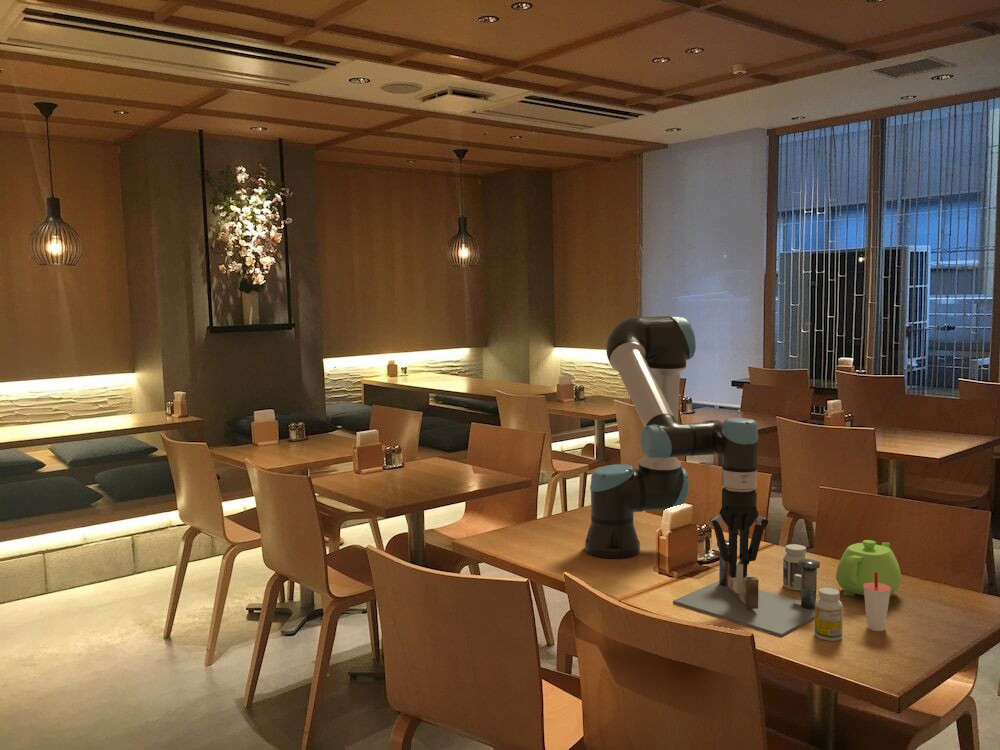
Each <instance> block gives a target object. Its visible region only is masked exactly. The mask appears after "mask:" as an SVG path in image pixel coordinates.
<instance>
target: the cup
mask: <svg viewBox="0 0 1000 750" xmlns="http://www.w3.org/2000/svg"><path fill="white" fill-rule="evenodd" d="M874 575H875V583H865V584H863V586H864V595H863V596H864V606H865V618H866V628H867V629H869V630H871V631H875V632H884V631H885V630H886V624H887V619H888V609H889V604H890V603H889V602H890V597H891V596H890V590H891V587H890V586H888V585H885V584H881V583H878V573H874Z"/></svg>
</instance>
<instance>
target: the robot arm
mask: <svg viewBox="0 0 1000 750" xmlns="http://www.w3.org/2000/svg"><path fill="white" fill-rule="evenodd" d="M696 344H697V342H696V336H695V332H694V329H693V326H692V325H691V323H690V322H689V321H688V319H687V318H685V317H682V316H672V315H666V316H665V315H664V316H663V315H662V316H661V315H660V316H659V315H658V316H646V317H645V316H643V317H640V316H639V317H638V316H636V317H635V316H634V317H628V318H626V319H624V320H621V321H620V322H619V323H617V324H616V326H614V327H613V329H612V330H611V332H610V333H609V335H608V337H607V342H606V349H605V350H606V356H607V360H608V362H609V364H610V367H611V368H612V369H613V370H615V371H616V372H618V374H619V376H620V378H621V381H622V383H623V385H624V387H625V389H626V391H627V393H628V395H629V398H630V399H631V403H632V404H633V406H634V408H635V410H636V412H637V414H638V417H639V418H640V421H641V423H642V426H643V428H642V430H641V432H640V444H641V450H642V452H643V454H644V455H643V457H642V458H640V459H639V460H638V469H637V468H636V469H634V468H633V466H632V465H631V464H627V463H621V464H618V463H617V464H609V465H608V464H607V465H605V466H601V467H598V468H596V469H595V470H594V471H593V472H592V473H591V475H590V476H591V477H590V486H589V489H590V525H589V527H588V528H589V529H588V531H587V535H586V539H585V541H584V551H585V553H586V554H587V553H588V555H591V556H594V557H597V558H603V559H624V558H630V557H634V556H636V555H638V554H640V552H641V543H640V540H639V537H638V534H637V530H636V527H635V524H634V513H639V512H640V513H642V512H652V511H653V512H655V511H665V509H667V508H670V507H673V506H677V505H681V504H683V505H684V504H685V503H686V500H687V498H688V495H689V489H690V481H689V480H688V479H689V476H688V471H686V469H685V468H684V467H682V462H681V461H680V460H679V459H678V457H692V456H693V457H694V456H710V455H711V456H712V455H717V456H720V457H722V459H721V460H722V462H721V463H722V465H721V468H722V471H721V472H722V473H721V486H722V487H723V488H722V489H721V508H720V510H719V514H718V515H716V516H715V517H711V518H709V523H710V525H711V526H712V527H713V529H714V535H715V538H716V539H715V540H716V544H717V543H718V546H717V548H718V551H719V557H720V556H721V558H722V559H723V560H724V561H725V562H729V575H730V576H731V577H732V578H733V590H734V591H735V592H736V593H743V577H746V576H747V574H748V565H750V562H755V561H756V560H757V557H758V552H759V550H760V545H761V542H762V538H763V534H764V530H765V529H766V527H767V526H768V524H769V520H768V519H767V518H766V517H764V516H761V515H759V510H758V508H757V506H758V505H757V503H758V502H757V500H758V491H757V489H756V488H757V487H758V460H759V459H758V458H759V457H758V455H759V432H758V429H759V428H758V423H757V421H756V420H755V419H752V418H745V417H731V418H726V419H724V420H723V421H721V420H719V419H706V420H704V421H702V422H694V423H693V422H692V423H690V422H688V423H679V405H680V404H679V403H680V402H679V401H680V400H679V399H680V384H681V383H680V382H681V381H680V378H681V372H683V371H684V370H685V369H686V368H687V360H688V361H689V360H691V359H692V358H693V357H694V355H695V353H696V351H697V350H696V346H697V345H696ZM723 522H724V523H725V525H726V526H727V531H728V540H729V552H727V547H726V543H725V540H726V539H725V535H724V531H723V529H722V526H723ZM754 523H755V524H754ZM753 524H754V529H753V532H752V534H751V539H750V540H749V537H750V536H749V535H750V528H751V527H752V525H753ZM738 535H739V550H738ZM749 541H750V543H749ZM738 551H739V560H738Z"/></svg>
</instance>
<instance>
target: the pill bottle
mask: <svg viewBox="0 0 1000 750" xmlns="http://www.w3.org/2000/svg"><path fill="white" fill-rule="evenodd" d="M785 552H786V554H784V556H783V558H782V561H783V562H782V563H783V567H782V570H783V571H782V576H783V577H782V584H783V586H784V588H786V589H787V590H791V591H797V592H799V591H800V592H801V590H800V589H796V588H794V575H795V574H799V575H801V567H800V566H799V560H801V559H809V558H808V557H807V556H806V553H807V547H806V546H804V545H801V544H796V543H795V544H794V543H793V544H791V543H790V544H787V545H786V546H785Z"/></svg>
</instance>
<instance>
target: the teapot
mask: <svg viewBox="0 0 1000 750" xmlns="http://www.w3.org/2000/svg"><path fill="white" fill-rule="evenodd" d="M890 545H891V542H887V541H885V542H882V543H881V545H880V544H877V541H875V540H872V539H871V540H870V539H864V540H862V542H857V543H853V544H851V545H848V547H847V548H846V549H845V550H844V552H843V554H842V556H841V558H840V560H839V562H838V565H837V569H836V575H835V579H836V581H837V583H838V585H839V587H840V588H841V589H842V590H844V591H843V593H844V594H843V593H842V594H843V595H845V594H846V595H845V596H850V595H852V596H855V595H856V594H858V595H862V596H864V586H863V584H865V583H875V575H874V573H878V583H881V584H885V585H888V586H890V587H891V590H890V597H892V596H893V595H894V593H895V592H897V590H898V589H899V587H900V586H901V584H902V573H901V569H900V565H899V563H898V560H897V557H896V556H895V553H894V552H893V550H892V548H891V546H890Z"/></svg>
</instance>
